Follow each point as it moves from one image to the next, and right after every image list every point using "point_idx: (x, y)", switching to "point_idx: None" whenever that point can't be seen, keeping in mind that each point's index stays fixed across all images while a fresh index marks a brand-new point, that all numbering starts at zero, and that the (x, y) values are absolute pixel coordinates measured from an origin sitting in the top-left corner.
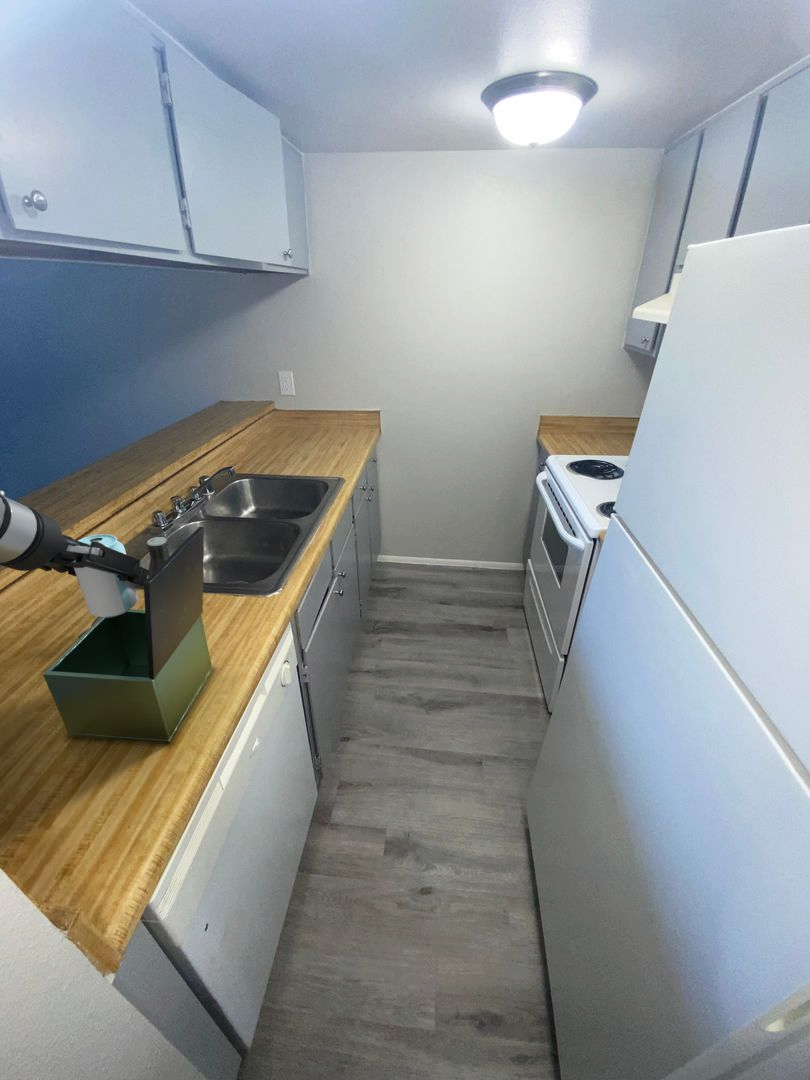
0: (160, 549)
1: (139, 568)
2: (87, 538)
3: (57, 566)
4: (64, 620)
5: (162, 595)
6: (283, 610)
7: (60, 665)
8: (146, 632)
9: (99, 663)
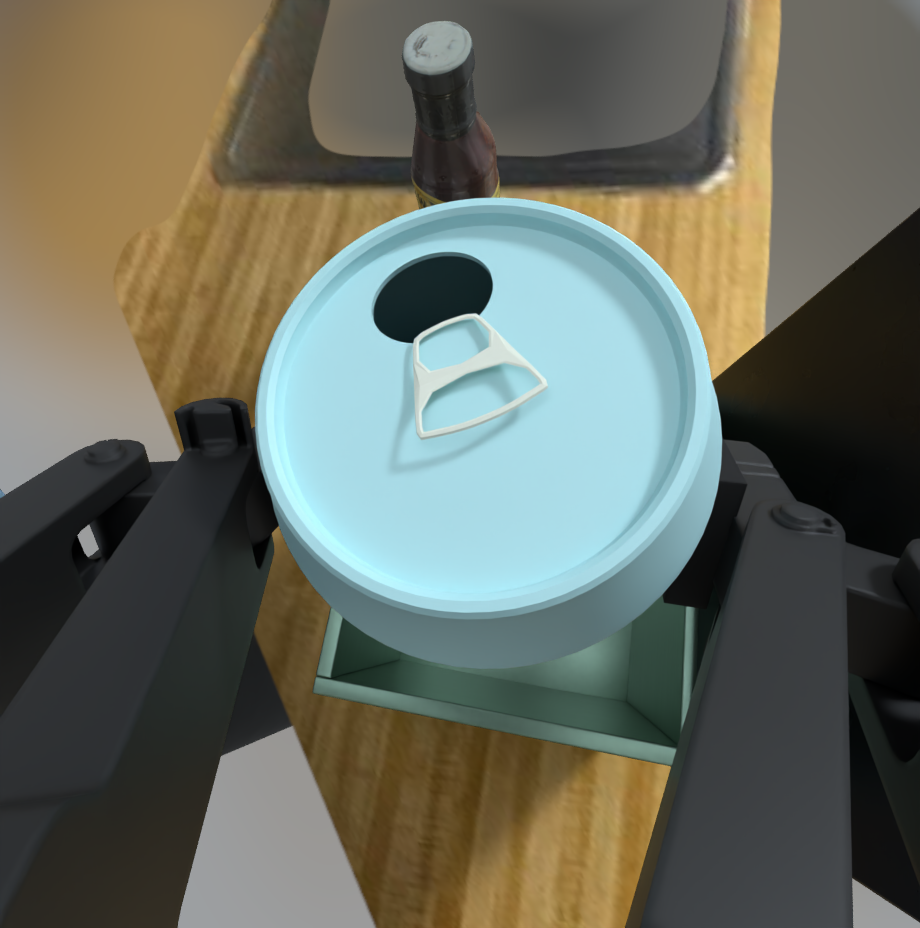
0: (458, 86)
1: (773, 474)
2: (336, 281)
3: (227, 719)
4: (232, 301)
5: None
6: (767, 242)
7: (343, 638)
8: (876, 892)
9: None
